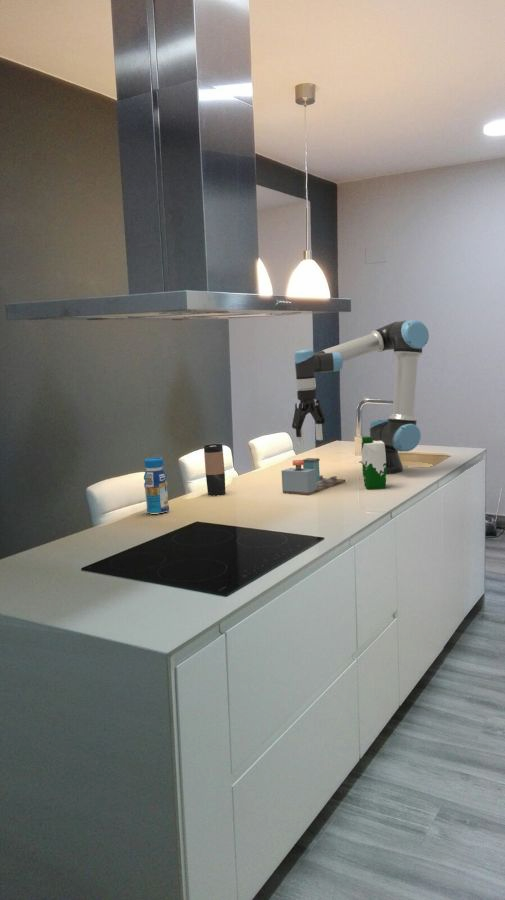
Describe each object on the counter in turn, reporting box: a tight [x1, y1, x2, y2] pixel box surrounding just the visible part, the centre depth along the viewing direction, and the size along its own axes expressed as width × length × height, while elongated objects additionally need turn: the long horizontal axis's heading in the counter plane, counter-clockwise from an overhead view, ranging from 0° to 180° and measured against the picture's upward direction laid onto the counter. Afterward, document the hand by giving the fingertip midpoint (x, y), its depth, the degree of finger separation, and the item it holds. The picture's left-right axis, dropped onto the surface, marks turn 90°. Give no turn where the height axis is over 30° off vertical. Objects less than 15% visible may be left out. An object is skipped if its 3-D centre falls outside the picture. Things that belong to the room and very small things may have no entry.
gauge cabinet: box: [281, 467, 317, 493], centre depth 282 cm, size 6×12×8 cm, turn 52°
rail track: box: [282, 474, 347, 496], centre depth 290 cm, size 28×12×3 cm, turn 142°
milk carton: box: [361, 436, 387, 491], centre depth 281 cm, size 9×9×20 cm
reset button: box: [292, 459, 304, 471], centre depth 281 cm, size 4×4×4 cm
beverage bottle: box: [143, 457, 170, 514], centre depth 262 cm, size 8×8×20 cm
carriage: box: [302, 457, 321, 482], centre depth 288 cm, size 4×5×11 cm
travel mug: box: [203, 443, 226, 497], centre depth 289 cm, size 8×8×20 cm
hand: (310, 442), depth 287 cm, fingers open, 13 cm apart
